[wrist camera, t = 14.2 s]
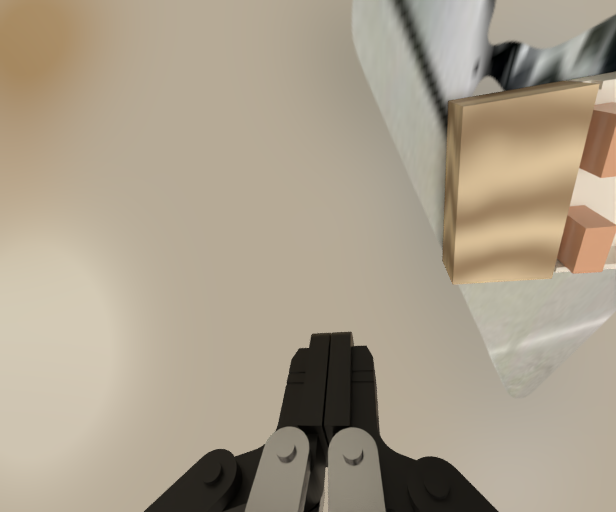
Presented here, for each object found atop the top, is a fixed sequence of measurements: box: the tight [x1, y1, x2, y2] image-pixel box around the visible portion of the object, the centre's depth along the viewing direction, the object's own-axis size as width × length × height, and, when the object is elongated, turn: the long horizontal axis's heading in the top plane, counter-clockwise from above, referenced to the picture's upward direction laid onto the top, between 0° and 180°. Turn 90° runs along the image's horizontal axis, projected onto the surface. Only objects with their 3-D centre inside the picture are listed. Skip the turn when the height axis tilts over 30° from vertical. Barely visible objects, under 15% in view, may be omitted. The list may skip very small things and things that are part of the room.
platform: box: [442, 81, 600, 284], centre depth 31 cm, size 18×10×5 cm, turn 10°
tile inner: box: [579, 102, 616, 178], centre depth 27 cm, size 5×5×2 cm
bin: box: [554, 72, 616, 272], centre depth 30 cm, size 18×8×4 cm, turn 10°
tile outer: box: [557, 205, 616, 274], centre depth 32 cm, size 5×5×2 cm
